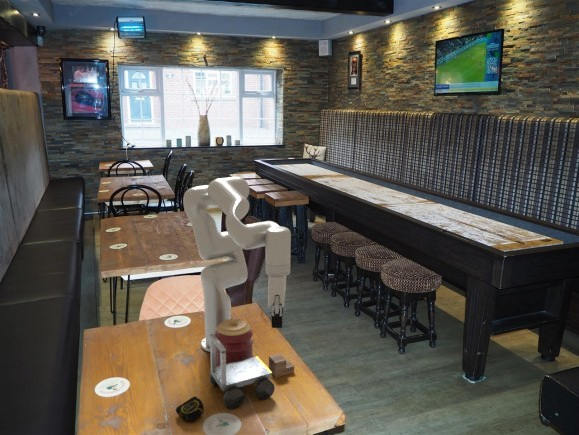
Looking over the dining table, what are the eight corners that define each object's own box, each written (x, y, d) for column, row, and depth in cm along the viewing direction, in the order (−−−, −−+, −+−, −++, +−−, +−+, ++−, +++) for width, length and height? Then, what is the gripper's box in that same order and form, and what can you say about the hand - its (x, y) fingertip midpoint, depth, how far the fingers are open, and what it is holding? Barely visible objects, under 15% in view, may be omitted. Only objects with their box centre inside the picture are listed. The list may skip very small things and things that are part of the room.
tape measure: (198, 402, 142) (195, 392, 141) (209, 414, 137) (206, 405, 136) (177, 415, 139) (174, 406, 137) (187, 428, 134) (184, 418, 132)
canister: (222, 353, 173) (221, 308, 169) (257, 357, 171) (257, 311, 167) (210, 372, 160) (208, 324, 156) (247, 377, 158) (247, 328, 154)
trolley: (208, 386, 152) (207, 331, 148) (255, 373, 160) (255, 320, 155) (224, 411, 140) (223, 352, 136) (274, 396, 148) (274, 339, 143)
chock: (268, 370, 163) (268, 356, 161) (287, 365, 166) (287, 351, 164) (275, 378, 158) (275, 362, 157) (294, 372, 161) (294, 357, 160)
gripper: (266, 258, 152) (266, 308, 156) (263, 277, 136) (263, 333, 140) (290, 258, 152) (289, 308, 156) (290, 278, 136) (289, 333, 140)
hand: (277, 320), depth 148 cm, fingers open, 9 cm apart
